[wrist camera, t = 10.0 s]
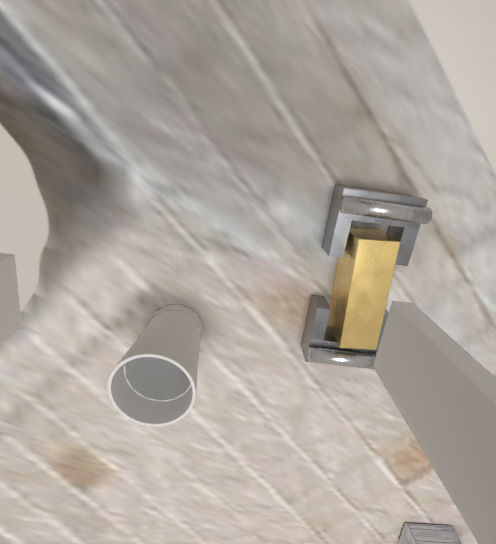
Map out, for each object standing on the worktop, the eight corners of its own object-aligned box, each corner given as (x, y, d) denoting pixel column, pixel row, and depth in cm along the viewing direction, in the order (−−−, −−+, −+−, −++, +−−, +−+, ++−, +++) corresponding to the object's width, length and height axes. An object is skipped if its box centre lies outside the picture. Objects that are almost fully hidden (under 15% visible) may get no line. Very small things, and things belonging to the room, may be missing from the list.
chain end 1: (335, 184, 37) (348, 189, 32) (411, 195, 37) (436, 201, 32) (321, 247, 39) (332, 260, 34) (393, 256, 39) (414, 271, 35)
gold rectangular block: (342, 226, 38) (359, 239, 33) (377, 228, 38) (400, 241, 33) (327, 321, 42) (339, 347, 37) (358, 323, 42) (376, 349, 37)
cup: (218, 311, 42) (208, 371, 30) (196, 363, 44) (179, 436, 33) (155, 288, 40) (120, 342, 29) (136, 342, 43) (97, 411, 32)
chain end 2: (311, 295, 41) (320, 314, 36) (380, 303, 41) (398, 323, 37) (300, 345, 43) (307, 369, 38) (366, 352, 44) (381, 377, 39)
